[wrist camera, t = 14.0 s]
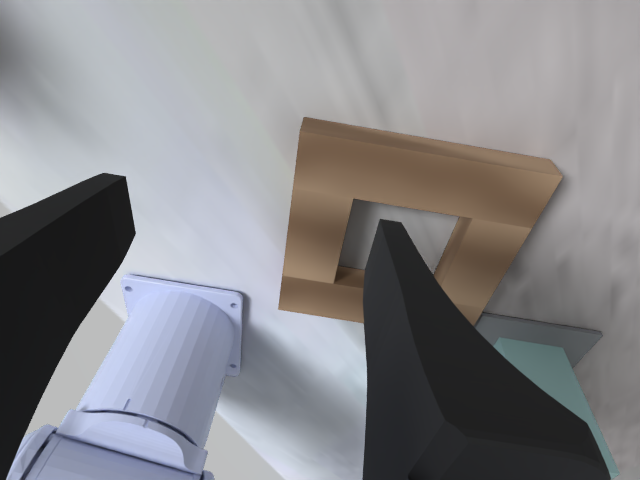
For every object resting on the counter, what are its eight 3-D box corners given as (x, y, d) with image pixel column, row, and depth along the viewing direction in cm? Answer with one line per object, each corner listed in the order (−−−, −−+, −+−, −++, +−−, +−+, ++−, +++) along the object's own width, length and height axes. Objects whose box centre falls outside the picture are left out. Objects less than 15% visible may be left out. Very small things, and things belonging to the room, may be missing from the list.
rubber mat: (542, 396, 32) (543, 399, 32) (441, 380, 32) (441, 383, 32) (600, 331, 27) (603, 335, 27) (481, 312, 27) (482, 315, 27)
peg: (532, 383, 31) (574, 504, 24) (474, 373, 31) (502, 493, 24) (562, 347, 28) (619, 473, 22) (499, 337, 28) (538, 461, 22)
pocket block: (461, 319, 27) (465, 339, 26) (282, 291, 27) (278, 309, 26) (550, 159, 20) (562, 176, 19) (303, 116, 20) (299, 131, 18)
